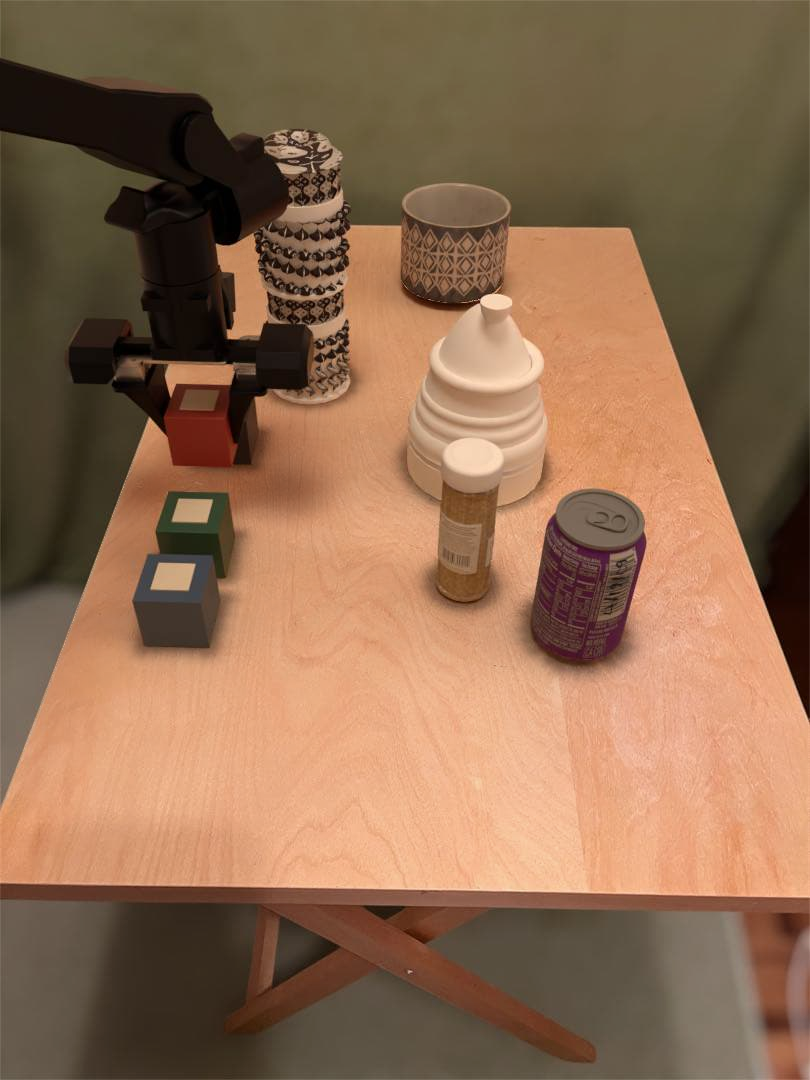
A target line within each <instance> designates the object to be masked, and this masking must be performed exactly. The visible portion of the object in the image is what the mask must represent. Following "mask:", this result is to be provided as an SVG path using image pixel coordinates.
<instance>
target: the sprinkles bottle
mask: <svg viewBox="0 0 810 1080" xmlns="http://www.w3.org/2000/svg"><path fill="white" fill-rule="evenodd" d="M503 470H504V455H503V453H502V451H501V450H500V449H499V447H498V446H496V445H495V444H493V443H492V442H489V441H487V440H484V439H479V438H463V439H459V440H456V441H454V442H452V443H450V444H449V445H448V446H447V447H446V448H445V449H444V451H443V454H442V462H441V476H442V479H443V484H442V499H441V501H440V505H439V522H438V524H439V526H438V539H437V542H438V543H437V569H436V570H437V571H436V574H435V585H436V588H437V589H438V591H439V592H440V593H441V595H443V596H444V597H446V598H448V599H450V600H453V601H457V602H464V603H467V602H472V601H477V600H479V599H481V598H482V597H483V596H485V595H486V594H487V592H488V590H489V588H490V586H491V575H490V573H491V564H492V560H493V554H494V545H495V544H494V543H495V535H496V522H497V521H496V519H497V518H496V517H497V507H498V506H497V500H498V489H499V484H500V482H501V480H502V478H503Z"/></svg>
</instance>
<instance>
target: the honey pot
mask: <svg viewBox="0 0 810 1080" xmlns="http://www.w3.org/2000/svg"><path fill="white" fill-rule="evenodd" d="M479 302H480V303H477V304H475V305H474V306H471V307H470V308H469V309H467V310H466V311H465V312H464V313H463V314H462V315H461V316H460V317H459V318H458V320H457V321H456V322H455V323H454V324H453V326H452V328H451V329H450V330H449V332H448V333H447V334H446V335H445V336H443V337H442V338H440V339H439V340H437V341H436V343H435V344H434V345H433V346H432V347H431V349H430V351H429V354H428V364H429V369H428V371H427V372H426V374H425V375H424V376H423V378H422V381H421V384H420V387H419V390H418V392H417V396H416V398H415V400H414V401H413V403H412V405H411V407H410V411H409V413H408V418H407V422H408V423H407V424H408V426H407V437H406V438H407V439H406V440H407V441H406V442H407V445H406V465H407V472H408V474H409V476H410V477H411V479H412V481H413V483H414V484H415V485H417V487H418V488H420V490H421V491H423V492H424V493H425V494H427V495H429V496H431V497H432V498H435V499H436V500H438V501H440V502H441V499H442V484H443V479H442V476H441V462H442V454H443V451H444V449H445V448H446V447H447V446H448V445H449V444H450V443H452V442H454V441H456V440H459V439H463V438H479V439H484V440H487V441H489V442H492V443H493V444H495V445H496V446H498V447H499V449H500V450H501V451H502V453H503V455H504V470H503V478H502V480H501V482H500V484H499V489H498V500H497V507H501V506H506V505H511V504H513V503H515V502H517V501H519V500H521V499H523V498H525V497H526V496H527V495H529V494H530V493H531V492H533V491H534V490H535V489H536V487H537V485H538V484H539V482H540V480H541V478H542V472H543V465H544V458H545V454H546V445H547V439H548V432H549V419H548V416H547V414H546V410H545V405H544V401H543V398H542V393H543V392H542V391H543V390H542V388H541V386H540V382H539V380H540V378H541V377H542V375H543V373H544V369H545V359H544V357H543V354H542V352H541V350H540V349H539V348H538V347H537V346H536V345H535V344H534V343H533V342H531V341H530V340H528V339H527V338H525V337H523V335H522V333H521V331H520V329H519V327H518V325H517V324H516V322H515V320H514V319H513V318H512V316H511V315H510V313H511V311H512V307H513V300H512V299H511V298H510V297H509V296H507V295H504V294H500V293H496V294H489V295H486V296H483V297H482V298H481V300H480V301H479Z"/></svg>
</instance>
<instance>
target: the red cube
mask: <svg viewBox="0 0 810 1080" xmlns="http://www.w3.org/2000/svg"><path fill="white" fill-rule="evenodd" d="M230 386H231V384H211V383H210V384H208V383H205V384H204V383H175V384H174V388H173V391H172V393H171V395H170V397H171V399H170V401H169V404H168V407H167V409H166V412H165V415H164V422H165V428H166V433H167V436H166V438H167V443H168V448H169V453H170V458H171V463H172V466H173V467H193V468H194V467H198V468H229V469H231V468H233V465H234V464H233V461H234V457H235V453H236V449H237V445H238V444H234V441H233V438H232V434H231V421H230V401H229V390H230Z"/></svg>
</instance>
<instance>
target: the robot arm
mask: <svg viewBox="0 0 810 1080" xmlns="http://www.w3.org/2000/svg"><path fill="white" fill-rule="evenodd" d="M213 111H214V108H213V106H212V103H211V102H210V101H209V100H208V98H206V97H204V96H202V95H201V94H199V93H197V92H191V91H187V90H183V89H178V88H174V87H169V86H166V85H165V86H164V85H160V84H156V83H152V82H148V81H144V80H139V79H134V78H130V77H118V76H89V77H85V78H74V77H70V76H66V75H63V74H59V73H56V72H52V71H48V70H45V69H41V68H37V67H35V66H30V65H27V64H23V63H20V62H16V61H13V60H9V59H7V58H3V57H0V132H4V133H8V134H14V135H19V136H23V137H29V138H32V139H33V138H34V139H39V140H44V141H49V142H53V143H59V144H64V145H69V146H73V147H76V148H77V149H78V150H80V151H81V152H82V153H85V154H86V155H88V156H91V157H93V158H95V159H97V160H100V161H101V162H104V163H106V164H108V165H110V166H113V167H115V168H118V169H121V170H125V171H129V172H132V173H136V174H139V175H143V176H146V177H150V178H153V179H157V180H161V181H157V182H155V183H153V184H150V185H148V186H146V187H144V188H141V189H138V188H135V187H131V186H128V185H121V187H120V190H119V193H118V195H117V197H116V198H115V199H114V201H112V203H111V204H110V205H108V208H107V209H106V210H105V213H104V215H103V221H104V223H105V224H107V225H110V226H113V227H116V228H120V229H123V230H126V231H130V232H131V233H132V237H133V243H134V249H135V254H136V259H137V264H138V269H139V275H140V281H141V285H142V291H143V292H142V295H141V296H140V303H141V309H142V312H146V313H147V317H148V322H149V323H148V324H149V328H150V335H151V336H135V334H134V329H133V328H134V327H133V324H132V322H131V321H130V320H128V318H102V317H101V318H100V317H85V318H83V319H82V321H81V322H80V323H79V324H78V325H77V328H76V329H75V331H74V333H73V335H72V336H71V338H70V341H69V342H68V344H67V346H66V347H65V349H64V353H63V354H64V355H63V363H64V367H65V370H66V375H67V378H68V380H69V381H70V382H71V383H73V384H74V385H76V384H77V385H81V384H82V385H109V383H110V382H111V381H112V382H111V389H112V391H113V392H114V393H118V394H123V395H126V397H128V398H129V399H130V400H131V401H132V402H133V403H134V404H135V405H136V406H137V407H139V409H141V410H142V411H143V413H145V414H146V415H147V416H148V417H149V418H150V419H151V421H153V423H154V424H155V425H156V426H157V428H159V430H160V431H161V432H162V433H163V434H164V435H165V437H167V433H166V428H165V422H164V415H165V412H166V409H167V407H168V404H169V401H170V399H171V393H170V391H169V387H168V383H167V379H166V373H165V365H181V366H182V365H183V366H184V365H186V366H187V365H188V366H221V367H225V366H226V365H227V366H230V365H231V366H232V369H233V376H232V379H231V383H230V385H231V386H230V390H229V401H230V421H231V434H232V438H233V441H234V444H238V443H239V440H240V436H241V432H242V428H243V424H244V419H245V415H246V413H247V411H248V409H249V407H250V405H251V403H252V401H253V399H254V397H255V398H262V397H265V396H267V394H268V393H269V390H272V389H285V390H301V389H304V388H306V387H308V386H309V380H310V374H311V368H312V363H313V357H314V336H313V332H312V331H311V330H310V329H309V328H308V327H307V325H306V324H280V323H266V322H263V324H262V328H261V332H260V335H258V334H257V335H256V334H255V335H254V334H253V335H252V334H246V335H242V336H240V337H239V338H229V337H228V332H227V331H229V330H230V331H232V330H233V327H234V324H235V317H234V313H235V312H237V303H236V285H235V284H236V281H235V273H234V272H231V271H223V270H222V268H221V267H222V266H221V264H219V259H218V257H219V256H218V249H217V245H219V246H227V247H229V246H233V245H235V244H238V243H239V242H241V241H242V240H244V239H245V238H248V237H249V236H251V235H253V234H254V232H256V231H258V230H259V229H262V228H263V227H264V226H266V225H268V224H269V223H271V222H273V221H275V220H276V219H278V218H279V217H280V216H282V215H283V214H284V212H285V211H286V209H287V206H288V203H289V187H288V184H287V183H286V182H285V179H284V176H283V174H282V172H281V170H280V168H279V167H278V166H277V164H276V163H275V162H274V160H273V159H272V158H271V157H269V156H268V155H267V154H266V153H265V151H264V138H263V137H262V136H258V135H254V134H250V133H246V132H240V133H237V134H235V135H234V136H232V137H231V138H230V139H228V138H227V136H226V135H225V133H224V132H223V130H222V129H221V128H220V126H219V124H218V123H217V122H216V120H215V117H214V113H213Z"/></svg>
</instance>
